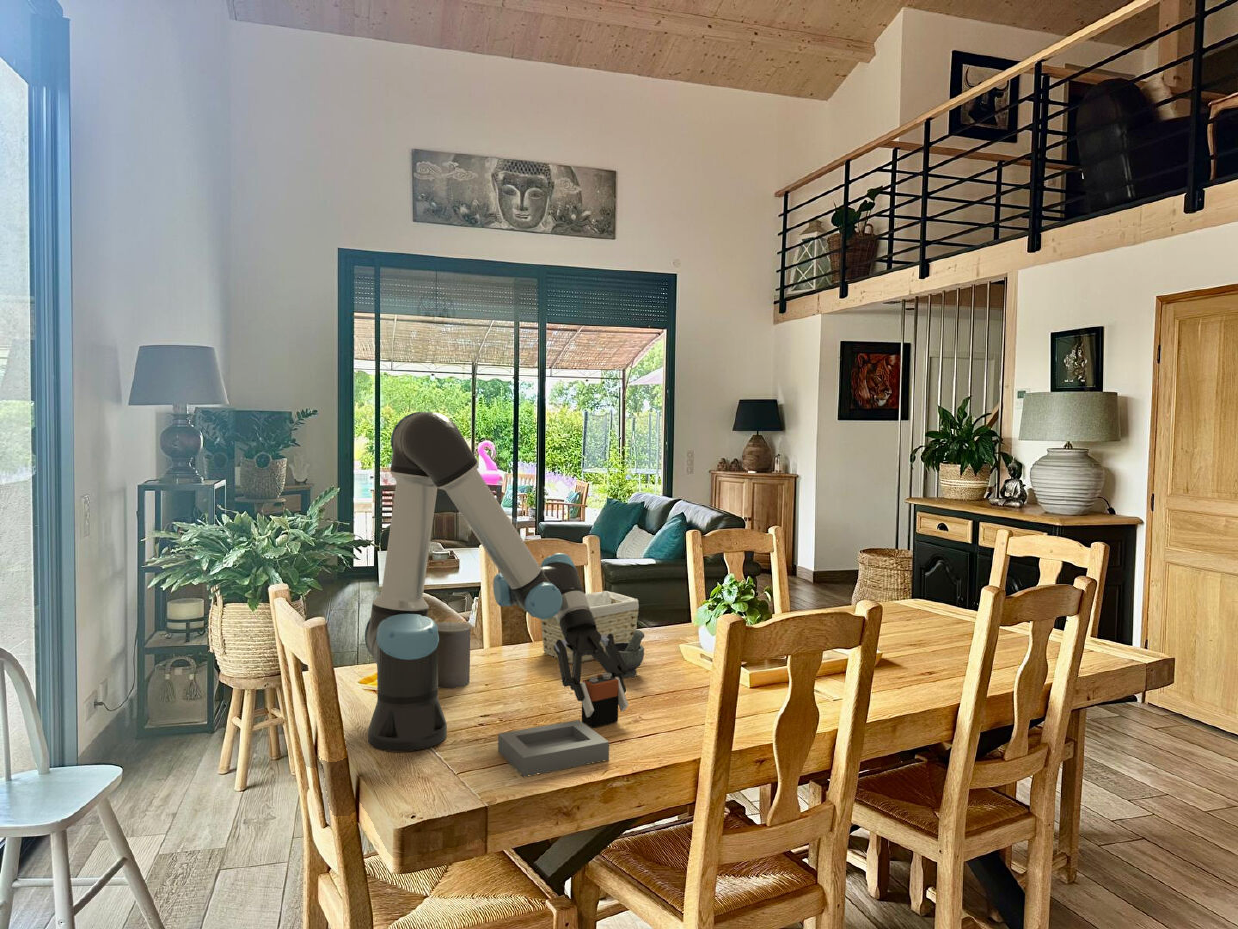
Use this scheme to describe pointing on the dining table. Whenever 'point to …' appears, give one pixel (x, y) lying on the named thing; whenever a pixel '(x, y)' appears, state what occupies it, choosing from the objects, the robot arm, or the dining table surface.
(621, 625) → the storage basket
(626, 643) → the mortar and pestle
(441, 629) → the pillar candle
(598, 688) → the battery
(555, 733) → the tray
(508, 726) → the dining table surface
